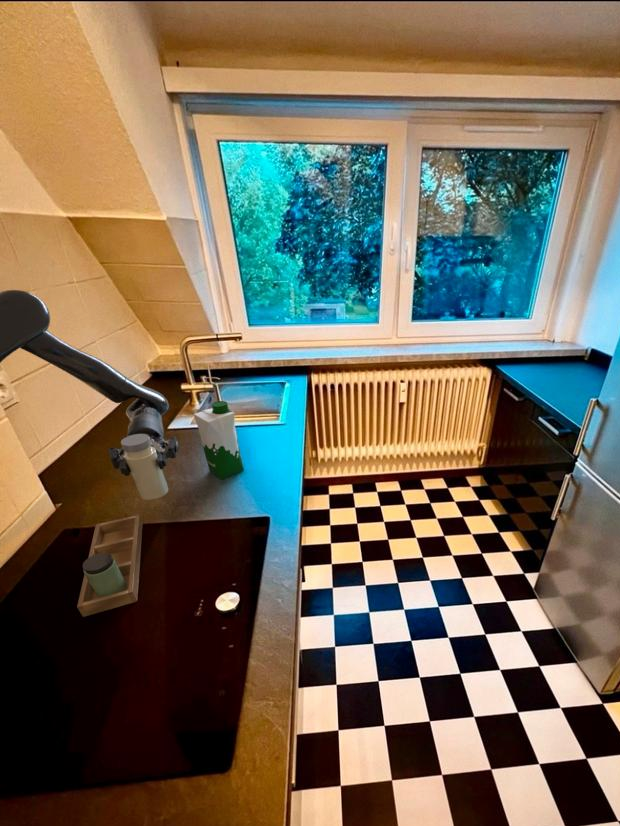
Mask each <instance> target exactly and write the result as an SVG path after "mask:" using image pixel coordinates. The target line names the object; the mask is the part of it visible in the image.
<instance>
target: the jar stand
mask: <svg viewBox="0 0 620 826" xmlns="http://www.w3.org/2000/svg"><path fill="white" fill-rule="evenodd" d="M142 536H143V521H142V518H141V516H140V515H139V514H136V515H132V516H128V517H123V518H119V519H114V520H110V521H105V522H100V523H96V524H95V528H94V532H93V536H92V541H91V544H90V549H89V553H88V558H89V557H91V556H93V555H95V554H98V553H109V554H111V555H112V557H113V558H114V559H115V561H116V563H117V565H118V567H119V569H120V571H121V573H122V575H123V577H124V579H125V581H126V583H127V590H126V591H123V592H119V593H116V594H112V595H109V596H105V597H101V598H98V597H97V595H96V593H95V591H94V590H93V588H92V586H91V584H90V582H89V581H88V579H87V577H86V575H85V574H84V575H83V580H82V584H81V588H80V593H79V597H78V601H77V606H76V608H77V610H78V611H79V613H80V614H81V616H82V617H83V618H85V617H88V616H91V615H95V614H98V613H102V612H105V611H108V610H112V609H115V608H119V607H122V606H125V605H129V604H132V603H136V602H138V593H139V581H140V580H139V579H140V566H141V553H142V552H141V551H142V538H143V537H142ZM88 558H87V559H88Z"/></svg>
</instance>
